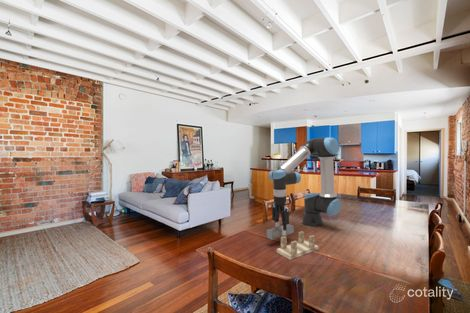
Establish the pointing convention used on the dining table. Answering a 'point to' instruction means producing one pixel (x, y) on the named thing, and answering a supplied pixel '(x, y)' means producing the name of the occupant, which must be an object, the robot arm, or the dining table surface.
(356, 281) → the dining table surface
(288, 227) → the bar
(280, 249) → the rack
